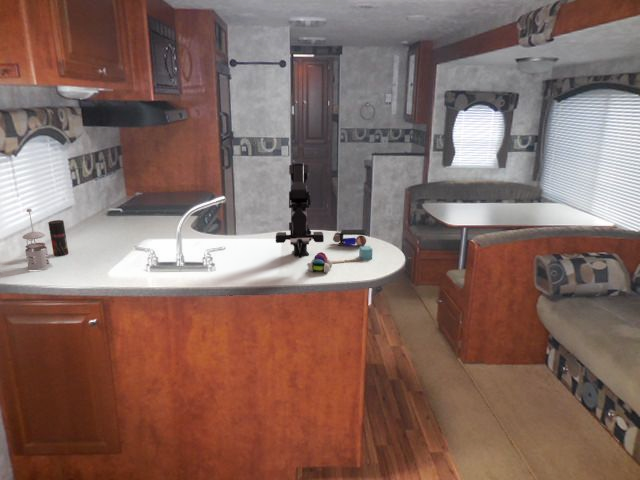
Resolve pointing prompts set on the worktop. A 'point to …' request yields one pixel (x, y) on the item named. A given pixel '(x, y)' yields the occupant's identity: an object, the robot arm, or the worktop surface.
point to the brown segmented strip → (345, 261)
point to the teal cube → (365, 252)
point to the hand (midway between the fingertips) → (300, 257)
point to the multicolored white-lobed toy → (320, 263)
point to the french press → (36, 251)
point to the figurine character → (346, 241)
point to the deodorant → (58, 238)
